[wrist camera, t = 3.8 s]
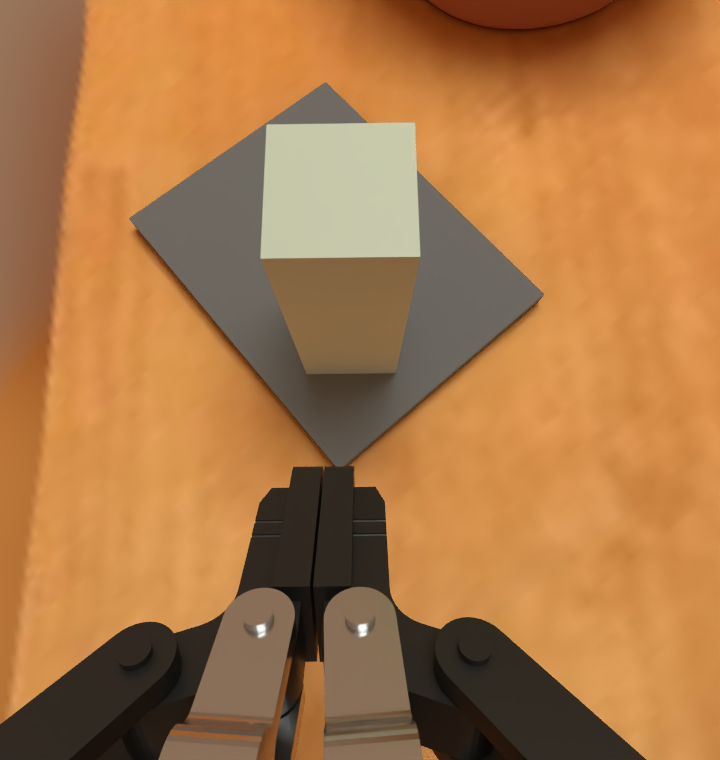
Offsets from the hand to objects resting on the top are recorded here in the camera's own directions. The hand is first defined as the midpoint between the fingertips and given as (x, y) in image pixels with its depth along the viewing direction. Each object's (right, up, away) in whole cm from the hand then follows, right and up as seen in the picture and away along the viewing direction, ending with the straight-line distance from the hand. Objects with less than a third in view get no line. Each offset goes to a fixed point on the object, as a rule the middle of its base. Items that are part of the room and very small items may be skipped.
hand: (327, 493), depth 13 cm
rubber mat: (-1, +9, +16) cm, 18 cm away
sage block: (0, +5, +14) cm, 15 cm away
